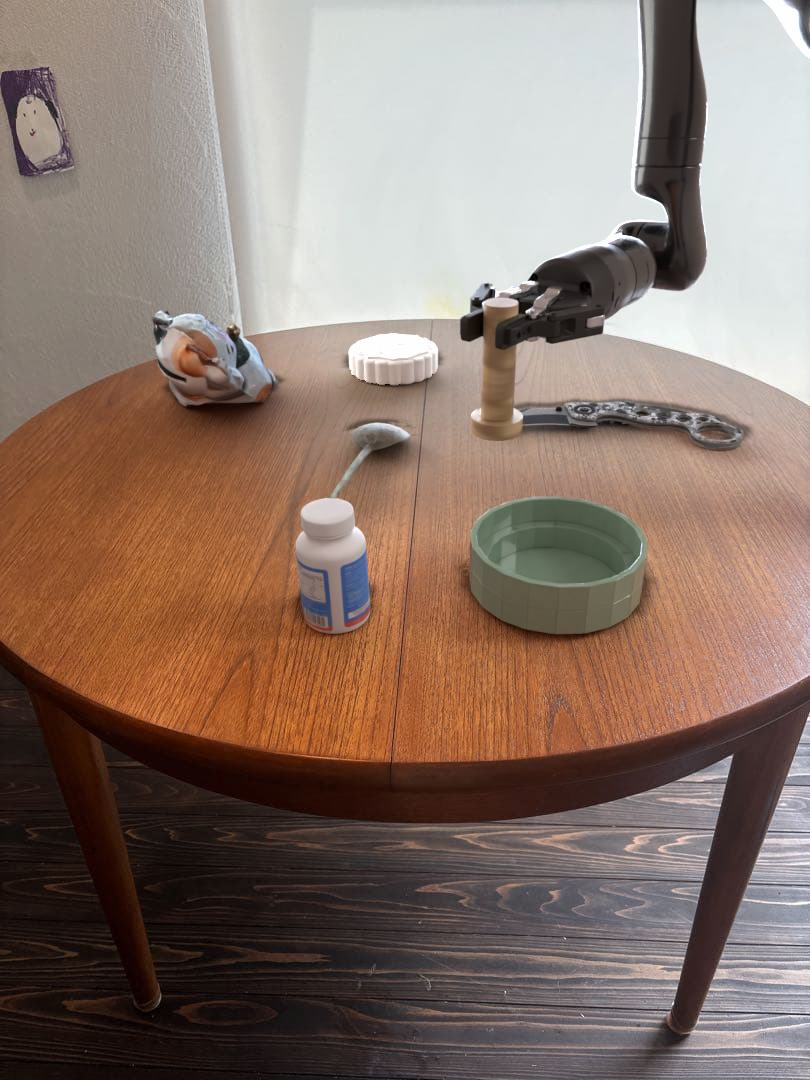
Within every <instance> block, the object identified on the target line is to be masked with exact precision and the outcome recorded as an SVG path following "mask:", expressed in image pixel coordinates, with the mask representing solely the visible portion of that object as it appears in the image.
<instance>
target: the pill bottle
mask: <svg viewBox="0 0 810 1080" xmlns="http://www.w3.org/2000/svg"><path fill="white" fill-rule="evenodd" d="M300 527H301V529H302V531H301V532H300V533H299V535H298V536H297V538H296V540H295V557H296V566H297V572H298V580H299V581H298V582H299V588H300V596H301V597H300V598H301V607H302V614H303V618H304V621H305V623H306V624H307V626H309V627H310V628H311V629H313V630H314V631H317V632H319V633H322V634H323V633H324V634H328V635H329V634H330V635H340V634H345V633H350V632H353V631H355V630H357V629H359V628H360V627H362V626H363V625H364V624H366V622H367V620H369V618H370V616H371V615H370V614H371V595H370V583H369V568H368V567H369V566H368V553H367V542H366V538H365V535H364V533H363V532H362V531H361V529H359V528H358V527H357V526H356V518H355V510H354V507H353V505H352V504H351V503H350V502H349V501H346V500H344V499H342V498H327V497H325V498H319V499H315V500H312V501H310V502H308V503H307V504H305V505H304V506H303V507H302V508H301V510H300Z"/></svg>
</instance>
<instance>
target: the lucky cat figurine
mask: <svg viewBox="0 0 810 1080" xmlns="http://www.w3.org/2000/svg"><path fill="white" fill-rule="evenodd" d="M151 321H152V323H153V337H154V339H155V340H154V341H155V352H156V357H157V365H158V368H159V370H160V372H161V373H162V375H163V377H164V378H165V379H167V380H168V385H169V389H170V391H171V393H172V395H174V396H175V398H176V399H177V401H178V402H179V404H181V403H182V404H183V405H185V406H187V405H193V404H194V405H193V406H201V405H203V404H244V403H245V404H246V403H252V402H254V403H253V404H255V403H256V404H261V403H260V402H263V401H264V400H265V399H266V398H267V397H268V398H269V396H270V395H269V393H270V391H271V390H272V391H274V389H275V388H276V387H278V386H279V379H277V378H276V377H275V375H274V373H273V371H272V370H271V369H270V368H269V367H265V363H264V359H263V356H262V354H261V353H259V350H258V349H257V347H256V346H255V345H254V344H253V343H252V342H250V341H248V340H247V339H246V338H245V337H242V336H241V328H240V327H239V326H237V325H236V324H235V323H234V322H231V323H228V325H227V326H226V330H224V329H223V328H221V327H220V326H219V325H218V324H215V323H214V321H212V320H211V319H210V318H208V317H204V315H202V314H199V313H183V314H180V315H177V316H176V317H172V315H171V314H170V312H169V311H168V310H167V309H162V310H158V312H156V313H155V314H154V316H153V317H151ZM268 395H269V396H268ZM268 398H267V399H268ZM267 399H266V400H267ZM183 405H182V406H183Z"/></svg>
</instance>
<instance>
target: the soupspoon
mask: <svg viewBox="0 0 810 1080" xmlns="http://www.w3.org/2000/svg"><path fill="white" fill-rule="evenodd" d="M350 438H351V439H352V440H353V442H355V444H356V445H357V446H359V447H360V448H361V449H362V450H360V452H359V453H358V455H356V457H355V458H354V460H353V461H352V462H351V464H350V465H349V466H348V468H347V470H346V471H345V474H344V475H343V476H342V478H341V479H340V481H339V482H338V484H337V485H336V486H335V488H334V490H333V491H332V493H331V494H330V495H328V496H327V497H326V498H336V499H338V497H339V495H340V494H341V492H342V491H343V490H344V489H345V487H346V486H347V484H348V483H349V482H350V480H351V478H352V477H353V476H354V474H355V473H356V471H357V469H359V467H360V466H361V464H362V463H363V462H364V461H365V460H366V459H367V457H369V455H370V454H371V453H372V452H373V451H378V450H383V449H385V448H389V447H391V446H393V445H397V444H399V443H402V442H404V441H406V440H408V439H409V438H411V435H410V433H409V432H407V431H406V430H404V429H402V428H401V427H398V426H395V425H393V424H389V423H384V422H371V423H366V424H363V425H361V426H358V427H356V428H355V429H353V430H352V431H351V432H350Z"/></svg>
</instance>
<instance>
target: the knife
mask: <svg viewBox="0 0 810 1080" xmlns="http://www.w3.org/2000/svg"><path fill="white" fill-rule="evenodd" d="M518 411H520V412H521V413H522V415H523V427H524V426H538V425H539V426H540V425H557V426H575V427H578V428H579V427H580V428H598V425H601V426H602V425H603V426H604V425H605V426H625V427H627V426H628V427H637V428H640V429H641V428H642V429H649V430H657V431H659V430H663V431H666V430H667V431H678V432H682V433H685V434H686V435H688V437H689V439H690V441H691V442H692V443H693V444H695V445H696V446H698V447H700V448H703V449H707V450H712V451H728V450H733V449H736V448H739V447H740V446H741V445H742V444H743V440H744V435H745V434H744V431H743V430H742V429H741V428H738V427H736V426H733V425H731V424H729V423H727V422H725V421H723V420H722V419H721V418H720V417H717V416H714V415H711V414H708V413H697V412H695V413H692V412H689V411H685V410H679V409H674V408H668V407H663V406H656V405H647V404H638V403H635V402H633V401H630V400H615V401H614V400H613V401H609V402H608V401H606V402H605V401H604V402H587V401H586V402H585V401H577V400H575V401H570V402H569V401H568V402H565V403H563V406H560V405H558V406H556V407H552V408H549V407H547V408H545V407H543V408H540V407H527V408H523V409H519V410H518ZM702 432H719V433H723V434H726V435H728V436H730V437H731V438H728V439H715V438H714V439H713V438H709V437H707V436H703V434H701V433H702Z"/></svg>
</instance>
